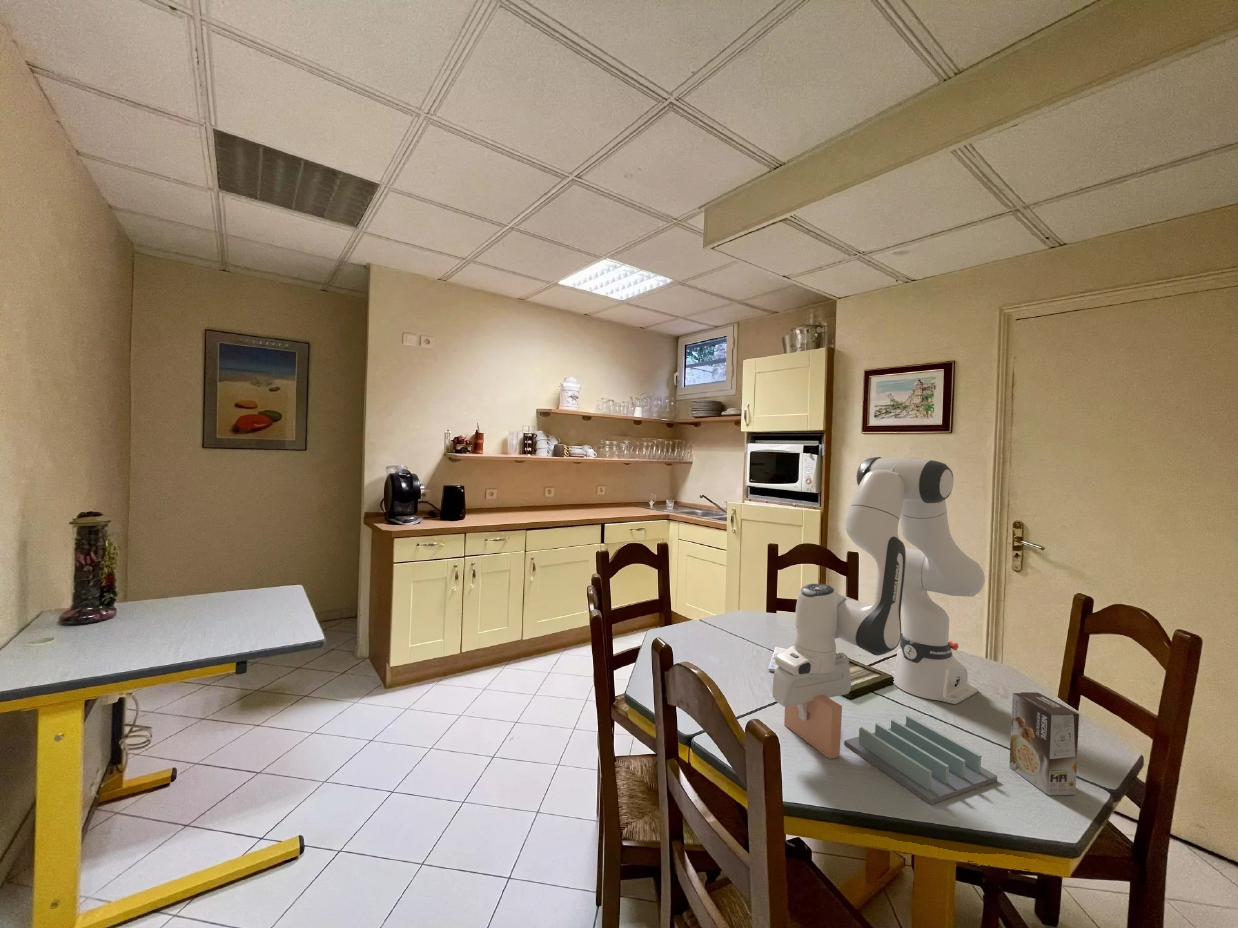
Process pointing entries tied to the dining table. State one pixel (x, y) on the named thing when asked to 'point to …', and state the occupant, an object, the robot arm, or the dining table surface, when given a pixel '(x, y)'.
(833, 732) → the salmon pink panel
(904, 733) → the dish rack
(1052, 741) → the coffee box
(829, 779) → the dining table surface
